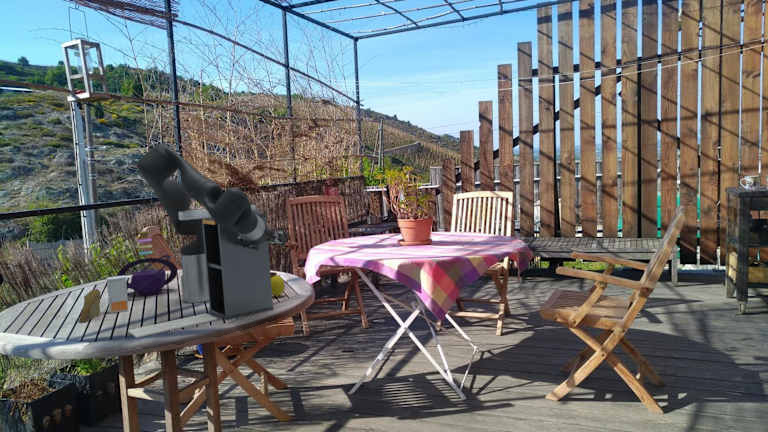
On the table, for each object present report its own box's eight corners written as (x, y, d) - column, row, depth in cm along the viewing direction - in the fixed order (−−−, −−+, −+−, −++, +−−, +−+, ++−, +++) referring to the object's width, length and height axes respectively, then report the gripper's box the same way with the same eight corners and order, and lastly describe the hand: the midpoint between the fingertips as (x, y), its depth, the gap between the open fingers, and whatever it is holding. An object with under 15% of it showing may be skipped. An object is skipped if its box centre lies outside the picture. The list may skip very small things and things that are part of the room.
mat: (136, 337, 155) (136, 336, 155) (128, 331, 162) (128, 330, 162) (217, 319, 170) (217, 318, 170) (206, 314, 177) (206, 313, 177)
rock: (87, 317, 173) (112, 305, 182) (72, 297, 174) (97, 287, 182) (74, 333, 178) (99, 321, 186) (59, 314, 178) (84, 303, 187)
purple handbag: (180, 285, 228) (175, 226, 226) (178, 295, 208) (172, 231, 206) (122, 292, 221) (116, 231, 219) (114, 303, 201) (107, 236, 199)
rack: (225, 319, 169) (216, 214, 166) (208, 312, 180) (199, 212, 177) (273, 308, 179) (265, 209, 176) (254, 302, 190) (247, 208, 187)
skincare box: (109, 313, 185) (106, 279, 184) (109, 311, 189) (106, 277, 188) (129, 310, 188) (126, 276, 187) (128, 308, 192) (125, 275, 191)
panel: (183, 220, 165) (182, 212, 164) (179, 219, 168) (178, 211, 168) (256, 212, 180) (255, 205, 179) (250, 212, 183) (250, 205, 182)
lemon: (281, 298, 193) (280, 276, 193) (267, 298, 194) (265, 276, 194) (287, 295, 199) (285, 273, 198) (273, 295, 200) (271, 273, 199)
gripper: (275, 213, 159) (291, 231, 174) (229, 219, 160) (249, 237, 175) (275, 237, 156) (292, 253, 171) (228, 243, 157) (248, 259, 172)
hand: (270, 245), depth 173 cm, fingers open, 8 cm apart
